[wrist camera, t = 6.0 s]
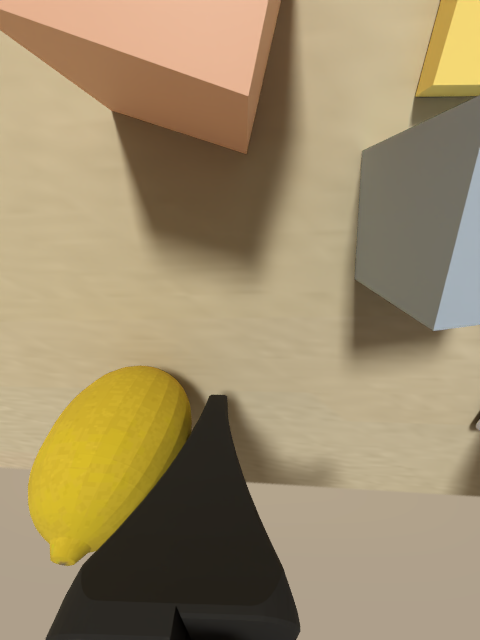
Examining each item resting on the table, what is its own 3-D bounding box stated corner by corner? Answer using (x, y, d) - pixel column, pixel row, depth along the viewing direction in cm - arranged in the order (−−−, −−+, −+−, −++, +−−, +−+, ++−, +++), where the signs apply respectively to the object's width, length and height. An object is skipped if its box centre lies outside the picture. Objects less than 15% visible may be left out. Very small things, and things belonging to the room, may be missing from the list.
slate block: (507, 120, 8) (850, 7, 3) (467, 260, 10) (642, 302, 6) (361, 151, 8) (494, 87, 4) (353, 278, 11) (433, 331, 6)
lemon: (156, 418, 15) (79, 603, 8) (92, 364, 13) (-87, 549, 6) (221, 386, 14) (196, 578, 7) (160, 320, 12) (28, 495, 5)
